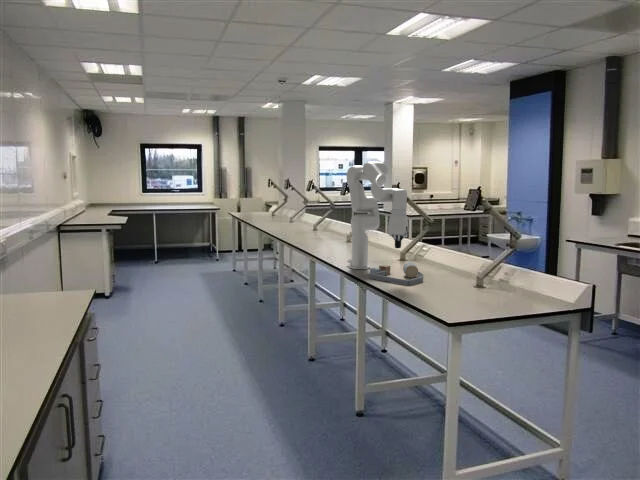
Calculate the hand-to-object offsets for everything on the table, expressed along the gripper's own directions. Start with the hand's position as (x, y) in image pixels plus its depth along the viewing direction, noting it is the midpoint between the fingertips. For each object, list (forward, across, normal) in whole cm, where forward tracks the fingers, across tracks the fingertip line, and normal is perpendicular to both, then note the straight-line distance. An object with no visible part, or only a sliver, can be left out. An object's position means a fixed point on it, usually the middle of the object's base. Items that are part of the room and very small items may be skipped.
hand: (397, 247), depth 269 cm
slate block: (+17, -15, +1) cm, 23 cm away
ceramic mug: (+17, +2, +14) cm, 22 cm away
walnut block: (+17, -15, +10) cm, 25 cm away
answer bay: (+17, 0, -1) cm, 17 cm away
